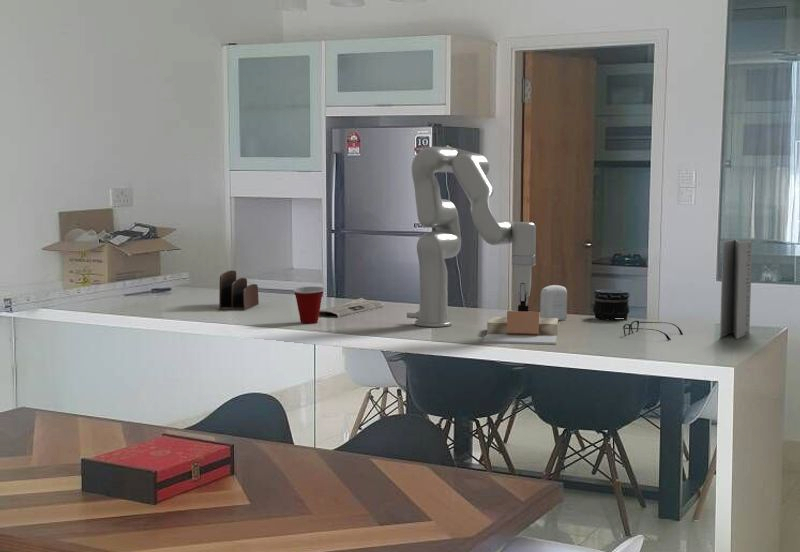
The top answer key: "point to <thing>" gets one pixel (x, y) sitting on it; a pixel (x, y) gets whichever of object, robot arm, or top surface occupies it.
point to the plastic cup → (309, 303)
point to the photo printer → (553, 302)
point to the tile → (522, 323)
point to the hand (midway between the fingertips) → (523, 317)
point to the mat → (520, 339)
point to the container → (611, 304)
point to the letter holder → (236, 293)
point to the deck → (500, 326)
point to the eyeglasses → (647, 329)
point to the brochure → (736, 288)
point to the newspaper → (352, 308)
